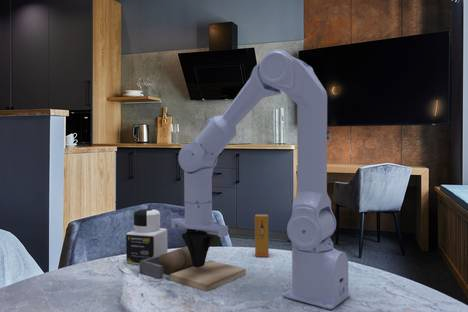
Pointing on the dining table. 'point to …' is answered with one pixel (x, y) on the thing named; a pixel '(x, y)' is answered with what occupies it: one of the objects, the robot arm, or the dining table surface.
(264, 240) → the supplement box
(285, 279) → the dining table surface
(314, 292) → the robot arm
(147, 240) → the medicine bottle
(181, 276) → the tan flat square slab
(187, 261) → the roller
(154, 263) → the gray u-shaped frame
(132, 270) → the dining table surface
